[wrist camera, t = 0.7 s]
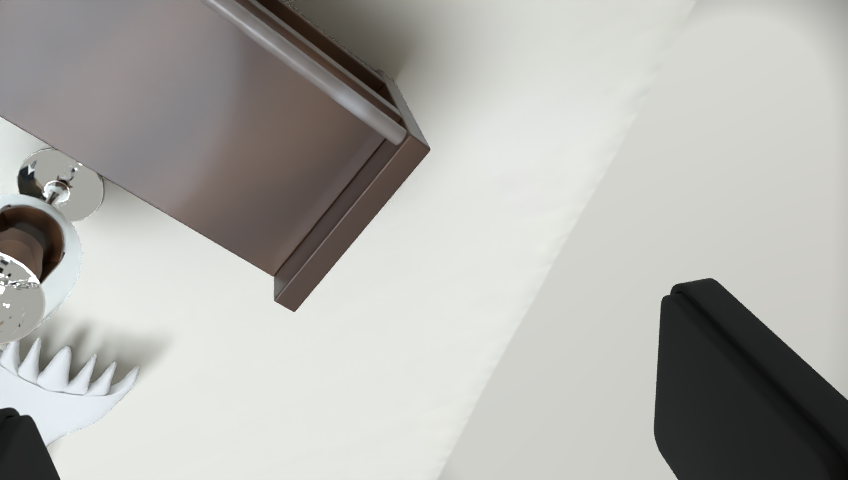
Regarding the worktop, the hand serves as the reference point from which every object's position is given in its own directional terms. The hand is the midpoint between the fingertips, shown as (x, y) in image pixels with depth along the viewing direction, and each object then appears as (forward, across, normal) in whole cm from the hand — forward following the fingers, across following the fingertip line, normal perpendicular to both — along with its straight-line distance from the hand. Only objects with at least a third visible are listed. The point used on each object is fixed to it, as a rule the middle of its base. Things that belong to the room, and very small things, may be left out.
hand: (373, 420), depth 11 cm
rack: (+32, +6, 0) cm, 32 cm away
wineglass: (+32, +15, +6) cm, 36 cm away
